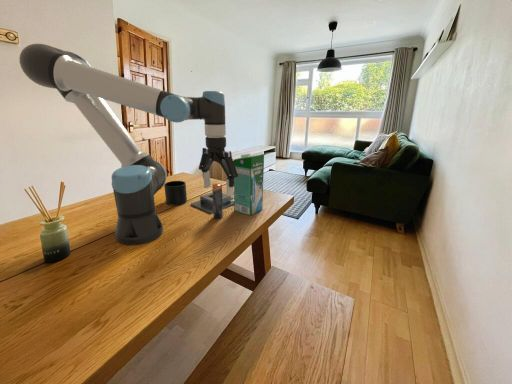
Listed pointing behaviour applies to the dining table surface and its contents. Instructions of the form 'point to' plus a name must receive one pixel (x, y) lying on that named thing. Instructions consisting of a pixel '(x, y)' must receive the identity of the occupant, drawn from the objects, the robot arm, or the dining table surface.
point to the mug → (175, 192)
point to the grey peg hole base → (207, 202)
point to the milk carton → (249, 184)
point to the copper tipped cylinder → (217, 201)
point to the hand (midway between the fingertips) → (218, 191)
